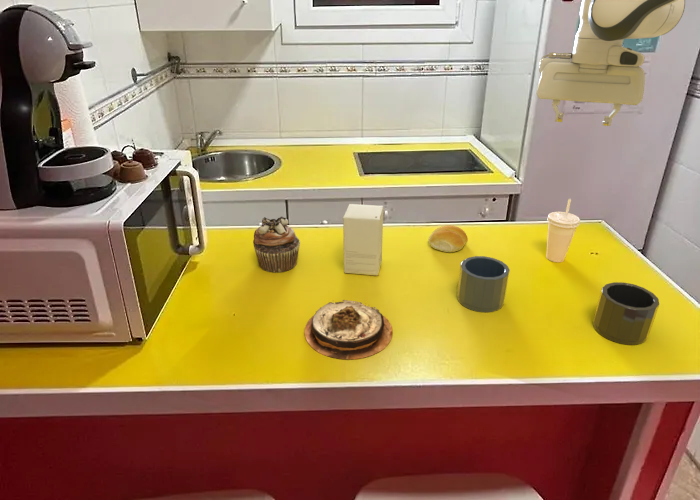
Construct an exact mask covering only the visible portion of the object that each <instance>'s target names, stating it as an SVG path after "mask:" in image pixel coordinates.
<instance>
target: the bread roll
mask: <svg viewBox="0 0 700 500" xmlns="http://www.w3.org/2000/svg"><path fill="white" fill-rule="evenodd" d="M468 241H469V238H468V235H467V233H466V232H465V230H463V229H462V228H460V227H459V226H456V225H451V224H448V225H443V226H440V227H437V228H435V229H434V230H433V231H432V232H431V234H430V235H429V236H428V245H429V246H430V247H431V248H433V249H434V250H437V251H441V252H444V253H454V252H455V253H456V252H459V251H461V250H462V249H463V248H464V247H465V246H466V244H467V243H468Z"/></svg>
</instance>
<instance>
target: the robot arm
mask: <svg viewBox="0 0 700 500" xmlns="http://www.w3.org/2000/svg"><path fill="white" fill-rule="evenodd" d="M685 7H686V0H581V4H580V9H579V27H578V30H577V32H576V33H575V38H574V43H573V48H572V52H549V53H548V54H545V55H543V56H542V57H541V59H540V61H539V67H538V71H539V74H540V77H539V81H538V84H537V87H536V88H537V89H536V96H537V97H538V99H540V100H552V108H553V110H554V113H555V118H554V122H555V123H563V120H564V115H565V114H564V112H561V111H560V109H559V107H558V106H560V104H561V101H570V102H582V103H595V104H596V103H597V104H598V103H599V104H612V108H611V109H613V110H612V111H611V113H609V115H604V116H603V121H602V126H604V127H611V126H612V121H613V118H614V117H615V116H616V115H617V114H618V113H619V112H620V111H621V108H622V105H627V106H638V105H639V104H640V103H641V102H642V101H643V99H644V94H645V86H646V73H645V71H644V69H643V68H642V67H641V66H642V65H643V64H644V63H645V58H646V57H645V55H644V54H643V53H641V52H639V51H636V50H633V49H632V48H630V47H625V46H623V43H624V40H630V39H631V40H636V39H638V40H639V39H653V38H657V37H661V36H664V35H666V34H668V33H670V32H671V31H672V30H673V29H675V27H676V26H678V24H679V22H680V21H681V19H682V17H683V15H684V12H685Z"/></svg>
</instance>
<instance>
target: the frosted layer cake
mask: <svg viewBox="0 0 700 500" xmlns="http://www.w3.org/2000/svg"><path fill="white" fill-rule="evenodd" d="M304 337H305V340H306V342H307V344H308V345H309V346H310V347H311V348H312V349H313V350H315V351H316V352H317V353H318V354H321V355H323V356H326V357H330V358H333V359H338V360H358V359H363V358H367V357H368V358H369V357H371V356H373V355H376V354H379V352H381V351H382V350H384V349H385V348H386V347H388V345H389V344H390V342H391V341H392V338H393V326H392V324H391V322H390V321H389V319H388V318H387V317H386V316H385V315H383V314H382V313H381V312H380V310H379V309H378V308H376V307H375V306H371V307H370V305H367V304H363V303H362V302H361V301H356V300H348V299H346V300H345V299H342V300H341V301H338V302H337V301H335V302H333V301H332V302H331V301H330V302H329V301H328V303H325V304H324V305H323V306H321V307H319V309H317V310H316V311H315V314H313V315H312V316H311V317H310V318H309V320H308V321H307V322H306V324H305V327H304Z"/></svg>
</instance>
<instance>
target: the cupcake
mask: <svg viewBox="0 0 700 500" xmlns="http://www.w3.org/2000/svg"><path fill="white" fill-rule="evenodd" d="M252 243H253V249H254V252H255V255H256V258H257V262H258V266H259V268H260V269H261V270H263V271H264V272H265V271H266V272H268V273H275V274H276V273H284V272H289V271H290V270H293V269H294V268H295V267H296V266H297V264H298V257H299V251H300V245H301V241H300V238H298V236H297V235H296V232H295V230H294V229H293V228H292V227H291V226H289V219H287V217H283V216H280V217H278V218H277V219H276V218H271V219H270V218H268V217H267V218H266V217H265V216H264V217H263V218H262V219H261V225H260V226H258V227H257V228H256V229H255V230H254V232H253V241H252Z"/></svg>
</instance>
